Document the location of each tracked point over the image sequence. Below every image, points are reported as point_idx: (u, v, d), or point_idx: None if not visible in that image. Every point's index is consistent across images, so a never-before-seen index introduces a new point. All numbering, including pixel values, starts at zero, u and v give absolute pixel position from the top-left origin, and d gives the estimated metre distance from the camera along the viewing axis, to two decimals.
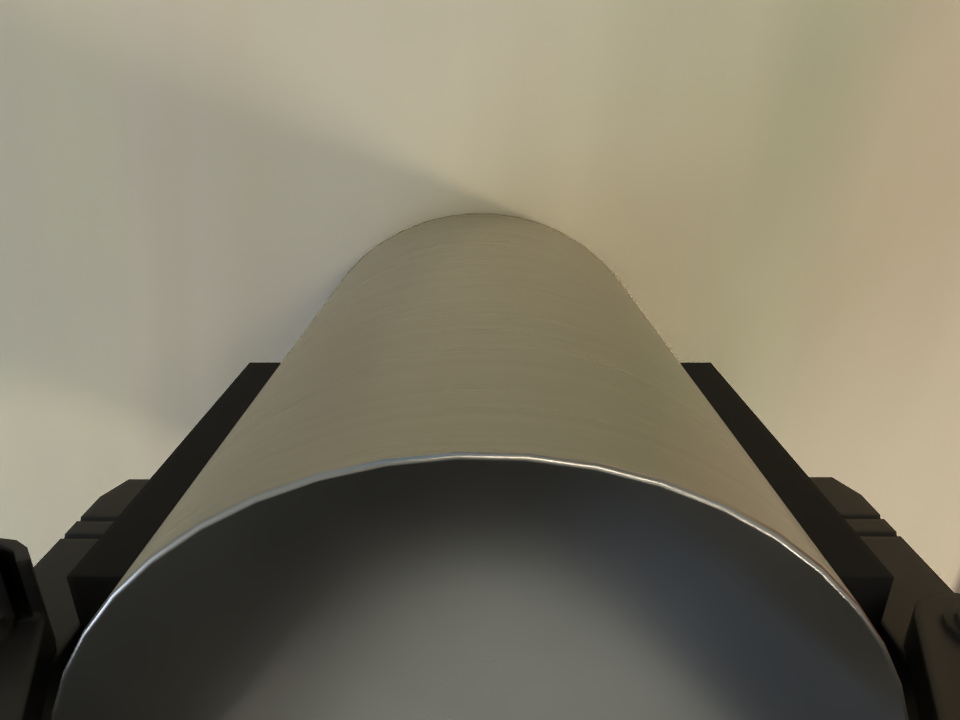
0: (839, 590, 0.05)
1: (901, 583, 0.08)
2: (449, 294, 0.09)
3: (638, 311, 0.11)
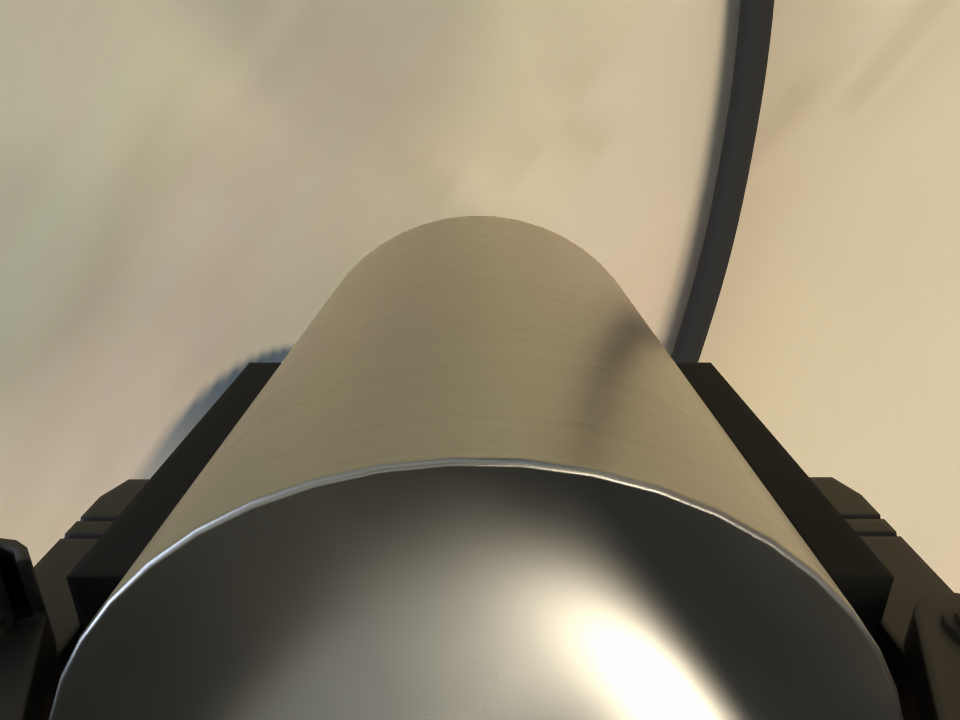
0: (834, 596, 0.05)
1: (900, 584, 0.08)
2: (447, 297, 0.09)
3: (636, 314, 0.11)
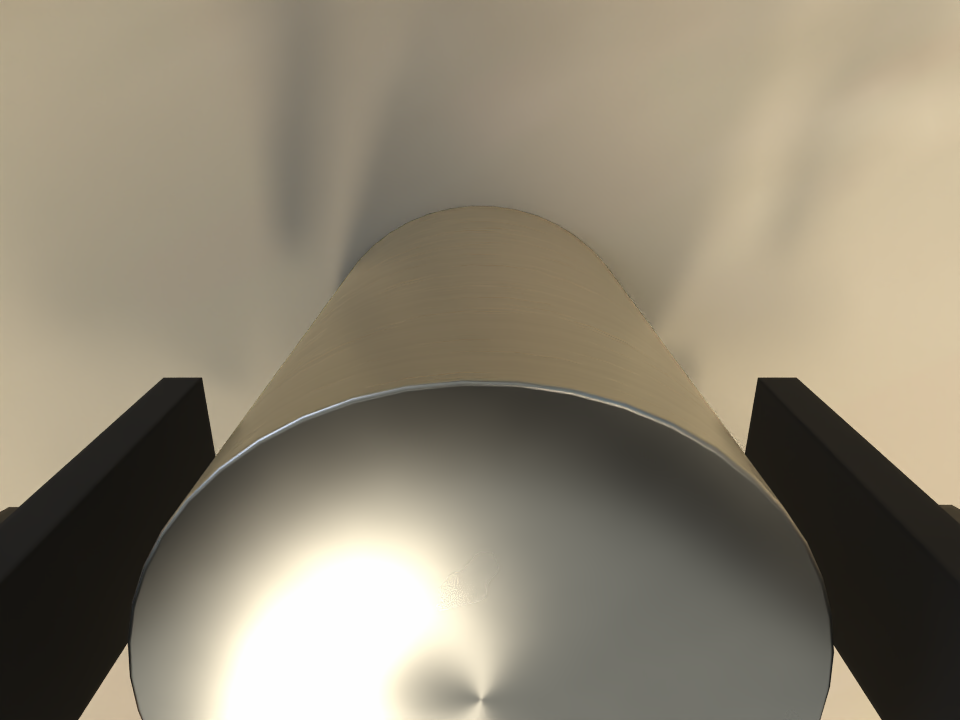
0: (767, 495, 0.07)
1: None
2: (453, 271, 0.10)
3: (622, 291, 0.13)
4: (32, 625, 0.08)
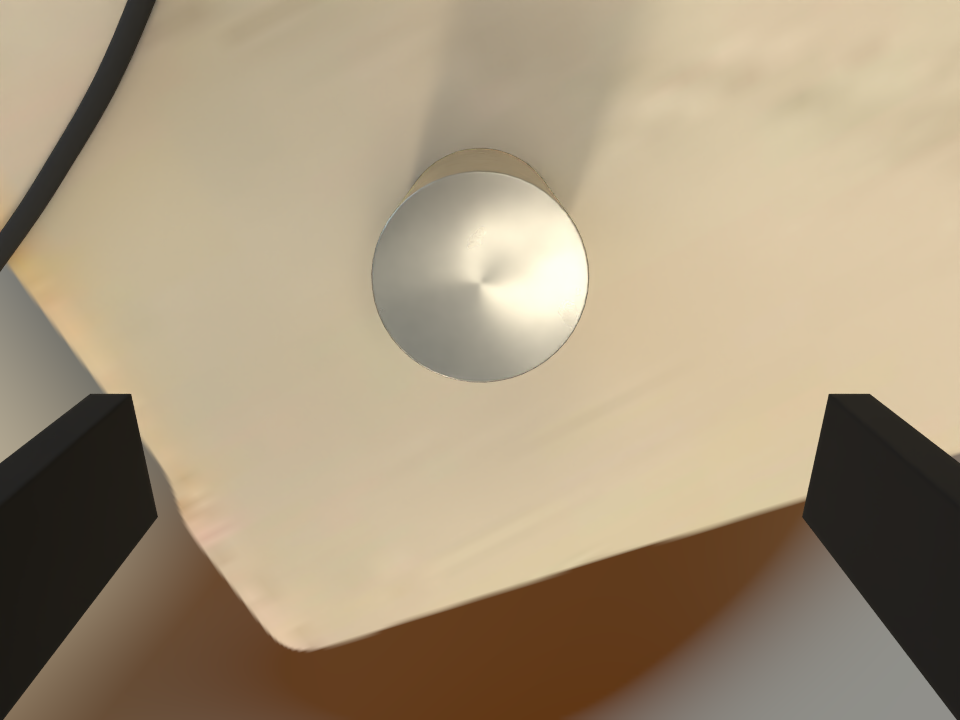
0: (560, 206, 0.23)
1: None
2: (470, 160, 0.27)
3: (541, 179, 0.29)
4: None
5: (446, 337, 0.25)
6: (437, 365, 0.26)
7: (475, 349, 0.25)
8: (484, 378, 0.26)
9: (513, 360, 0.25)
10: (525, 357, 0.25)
